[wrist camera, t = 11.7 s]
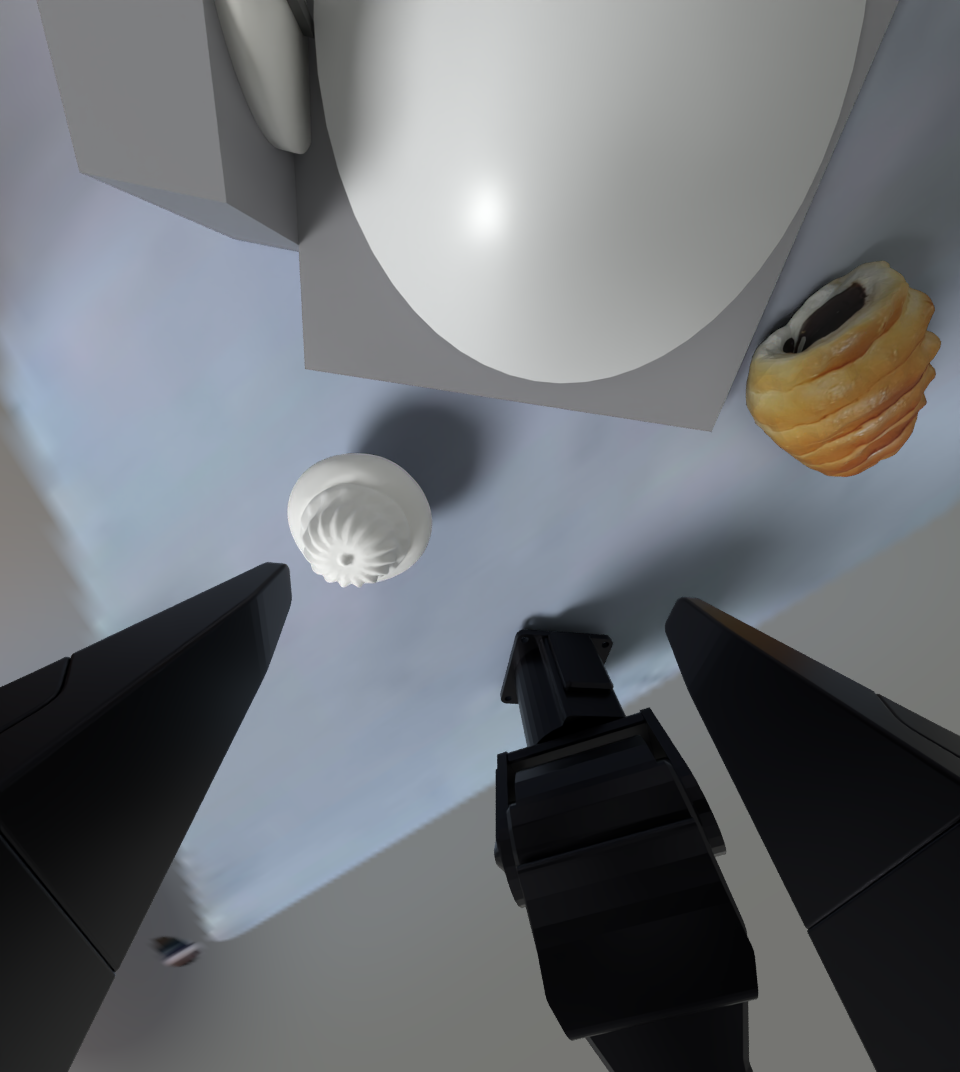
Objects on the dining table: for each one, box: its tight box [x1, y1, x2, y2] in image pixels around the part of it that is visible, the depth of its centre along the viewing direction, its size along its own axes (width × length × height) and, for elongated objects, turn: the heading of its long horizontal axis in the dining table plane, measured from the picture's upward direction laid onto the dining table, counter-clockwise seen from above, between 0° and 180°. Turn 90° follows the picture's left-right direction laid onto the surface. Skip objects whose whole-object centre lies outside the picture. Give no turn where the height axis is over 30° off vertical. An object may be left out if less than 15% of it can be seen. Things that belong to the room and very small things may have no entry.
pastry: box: [746, 261, 941, 477], centre depth 17 cm, size 9×7×4 cm
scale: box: [37, 0, 899, 432], centre depth 11 cm, size 18×21×7 cm
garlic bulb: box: [287, 453, 432, 588], centre depth 17 cm, size 6×6×7 cm
